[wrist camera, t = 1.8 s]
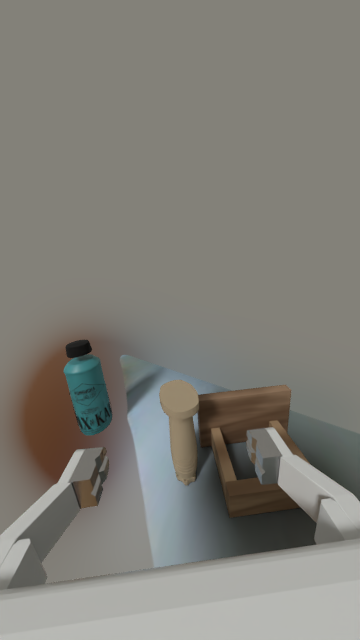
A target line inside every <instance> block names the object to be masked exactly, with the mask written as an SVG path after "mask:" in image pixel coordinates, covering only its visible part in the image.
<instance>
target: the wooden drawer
mask: <svg viewBox="0 0 360 640" xmlns="http://www.w3.org/2000/svg"><path fill="white" fill-rule="evenodd" d="M290 398H291V389H289V388H288V387H287V386H286V385H279V386H270V387H262V388H253V389H244V390H236V391H227V392H219V393H210V394H201V395H198V400H199V410H198V425H199V439H200V445H201V447H209V446H212V448H213V452H214V457H215V461H216V465H217V469H218V473H219V477H220V481H221V485H222V489H223V493H224V497H225V501H226V505H227V509H228V513H229V517H230V518H232V517H239V516H246V515H253V514H260V513H267V512H274V511H281V510H288V509H295V508H301V507H300V506H299V505H298V504H297V503H296V502H295V501H294V500H293V499H292V498H291V497H290V496H289V495H288V494H287V493H286V492H285V491H284V490H283V489H282V488H281V487H280V486H279V485H278V483H276V484H265V485H261V483H260V480H259V478H258V477H257V478H250V479H243V480H237V479H236V476H235V473H234V470H233V467H232V464H231V461H230V458H229V455H228V452H227V449H226V446H225V444H232V443H240V442H246V441H247V440H248V437H247V430H253V429H260V428H270V427H273V428H275V430H276V431H277V432H278V434H279V435H280V437H281V438H282V440H283V441H284V442H285V444H286V445H287V447H288V448H289V450H290V451H291V453H292V454H293V455H297V456H298V457H300V458H301V459H303V460H304V461H306V462H307V463H309V462H308V460H307V459H306V458H305V456H304V455H303V454H302V452H301V451H300V450H299V448H298V447H297V446H296V444H295V443H294V442H293V440H292V439H291V438H290V436H289V435H288V434H287V429H288V419H289V408H290ZM309 464H310V463H309Z"/></svg>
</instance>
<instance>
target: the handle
mask: <svg viewBox="0 0 360 640" xmlns="http://www.w3.org/2000/svg"><path fill="white" fill-rule="evenodd" d="M159 396H160V403H161V406H162V409H163V411H164V413H166V414H167V415H168V416H169V426H170V444H171V453H172V459H173V464H174V468H175V471H176V476H177V479H178V480H179V481H182V482H183V483H184V484H185V485H186V486H187V485H188V484H189V483H191V482H194V481H195V479H196V469H197V443H196V437H195V430H194V424H193V417H192V416H194V415H195V414H196V413H197V412H198V410H199V400H198V393H197V391H196V390H195V389H194V388H193V386H192V385H191V384H189V383H187V382H185V381H182V380H174V381H170V382H168V383H165V384H164V385H162V386H161V388H160V393H159Z"/></svg>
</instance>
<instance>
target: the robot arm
mask: <svg viewBox="0 0 360 640" xmlns="http://www.w3.org/2000/svg"><path fill="white" fill-rule="evenodd" d="M247 437H248V440H247V441H246V447H247V452H248V455H249V458H250V460H251V462H252V463H253V464H255V472H256V474H257V476H258V478H259V480H260V483H261V485H265V484H276V483H278V485H279V486H280V487H281V488H282V489H283V490H284V491H285V492H286V493H287V494H288V495H289V496H290V497H291V498H292V499H293V500H294V501H295V502H296V503H297V504H298V505H299V506H300V507H301V508H302V509H303V510H304V511H305V512H306V513H307V514H308V515H309V516H310V517H311V518H312V519H313V520H314V521H315V522H316V523H317V525H316V531H315V536H314V540H315V542H316V544H317V545H310V546H303V547H296V548H289V549H282V550H275V551H268V552H262V553H255V554H248V555H241V556H234V557H227V558H220V559H213V560H206V561H199V562H192V563H185V564H178V565H171V566H164V567H157V568H150V569H143V570H136V571H129V572H123V573H115V574H108V575H101V576H94V577H87V578H81V579H74V580H67V581H60V582H53V583H47V584H45V582H46V579H47V574H46V571H45V570H44V567H43V565H42V561H43V560H44V559H45V557H46V556H47V555H48V553H49V552H50V551H51V549H52V548H53V547H54V545H55V544H56V542H57V541H58V540H59V538H60V537H61V536H62V534H63V533H64V532H65V530H66V529H67V527H68V526H69V525H70V523H71V522H72V520H73V519H74V518H75V517H76V515H77V514H78V513H79V511H80V509H82V508H87V507H94V506H98V504H99V501H100V498H101V494H102V491H103V487H102V484H103V482H104V481H105V480H106V478H107V475H108V470H109V460H108V457H106V456H105V455H106V452H107V451H106V448H105V447H102V448H91V449H80V450H76V451H75V452H74V454H73V456H72V458H71V459H70V461H69V463H68V465H67V467H66V469H65V470H64V472H63V474H62V476H61V478H60V480H59V482H58V484H55V485H53V486H52V487H51V488H50V489H49V490H48V491H47V492H46V493H45V494H44V495H43V496H42V497H41V498H39V499H38V500H37V501H36V502H35V503H34V504H33V505H32V506H31V507H30V508H29V509H28V510H27V511H26V512H25V513H24V514H22V515H21V516H20V517H19V518H18V519H17V520H16V521H15V522H14V523H13V524H12V525H11V526H10V527H9V528H8V529H6V530H5V531H4V532H3V533H2V534H1V535H0V640H360V502H359V500H358V499H357V498H356V497H355V496H354V494H352V493H351V492H349V491H348V490H346V489H345V488H344V487H342V486H341V485H339V484H338V483H336V482H335V481H333V480H332V479H330V478H329V477H327V476H326V475H325V474H323V473H322V472H320V471H319V470H317V469H316V468H314V467H313V466H311V465H310V464H309V463H307V462H306V461H304V460H303V459H301V458H300V457H298V456H297V455H293V454H292V453H291V451H290V450H289V448H288V447H287V445H286V444H285V442H284V441H283V440H282V438H281V437H280V435H279V434H278V432H277V431H276V430H275V428H273V427H270V428H260V429H253V430H247Z"/></svg>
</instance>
